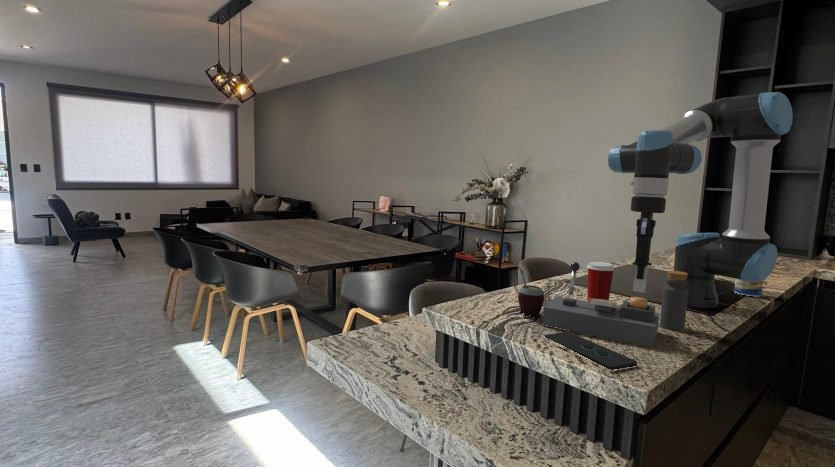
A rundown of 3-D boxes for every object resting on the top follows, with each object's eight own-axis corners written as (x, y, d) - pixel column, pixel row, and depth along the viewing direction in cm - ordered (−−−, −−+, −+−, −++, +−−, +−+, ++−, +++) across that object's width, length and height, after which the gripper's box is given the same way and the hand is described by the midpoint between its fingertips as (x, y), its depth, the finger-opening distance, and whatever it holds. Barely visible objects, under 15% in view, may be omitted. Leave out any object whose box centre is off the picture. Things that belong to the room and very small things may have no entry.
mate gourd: (547, 315, 130) (550, 263, 128) (533, 321, 124) (537, 266, 122) (523, 309, 135) (527, 259, 133) (509, 315, 129) (512, 262, 127)
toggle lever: (567, 294, 125) (572, 262, 127) (576, 295, 124) (581, 263, 125) (565, 293, 123) (570, 260, 125) (574, 294, 122) (579, 261, 123)
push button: (630, 305, 117) (631, 296, 117) (647, 308, 115) (648, 298, 115) (628, 308, 114) (629, 299, 114) (646, 311, 112) (647, 302, 112)
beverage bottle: (760, 294, 167) (767, 239, 165) (763, 299, 160) (770, 242, 158) (732, 290, 172) (739, 237, 169) (733, 294, 164) (740, 239, 162)
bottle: (687, 331, 120) (693, 275, 118) (663, 329, 121) (669, 273, 119) (679, 324, 126) (685, 271, 124) (656, 322, 127) (662, 269, 125)
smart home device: (610, 366, 92) (542, 334, 110) (609, 374, 92) (542, 341, 110) (639, 360, 95) (568, 330, 113) (638, 368, 96) (568, 337, 113)
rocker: (596, 303, 124) (597, 298, 124) (616, 306, 122) (617, 301, 122) (590, 303, 116) (590, 298, 116) (611, 307, 113) (612, 301, 113)
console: (556, 313, 132) (558, 287, 131) (657, 331, 119) (660, 303, 118) (542, 325, 120) (544, 297, 120) (653, 347, 107) (656, 316, 106)
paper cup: (611, 308, 140) (615, 263, 138) (610, 315, 133) (614, 267, 131) (584, 304, 143) (587, 260, 141) (581, 310, 136) (585, 264, 134)
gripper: (634, 195, 119) (626, 284, 121) (628, 195, 108) (618, 293, 110) (667, 196, 115) (657, 289, 118) (664, 197, 104) (653, 299, 107)
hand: (639, 291), depth 114 cm, fingers closed
